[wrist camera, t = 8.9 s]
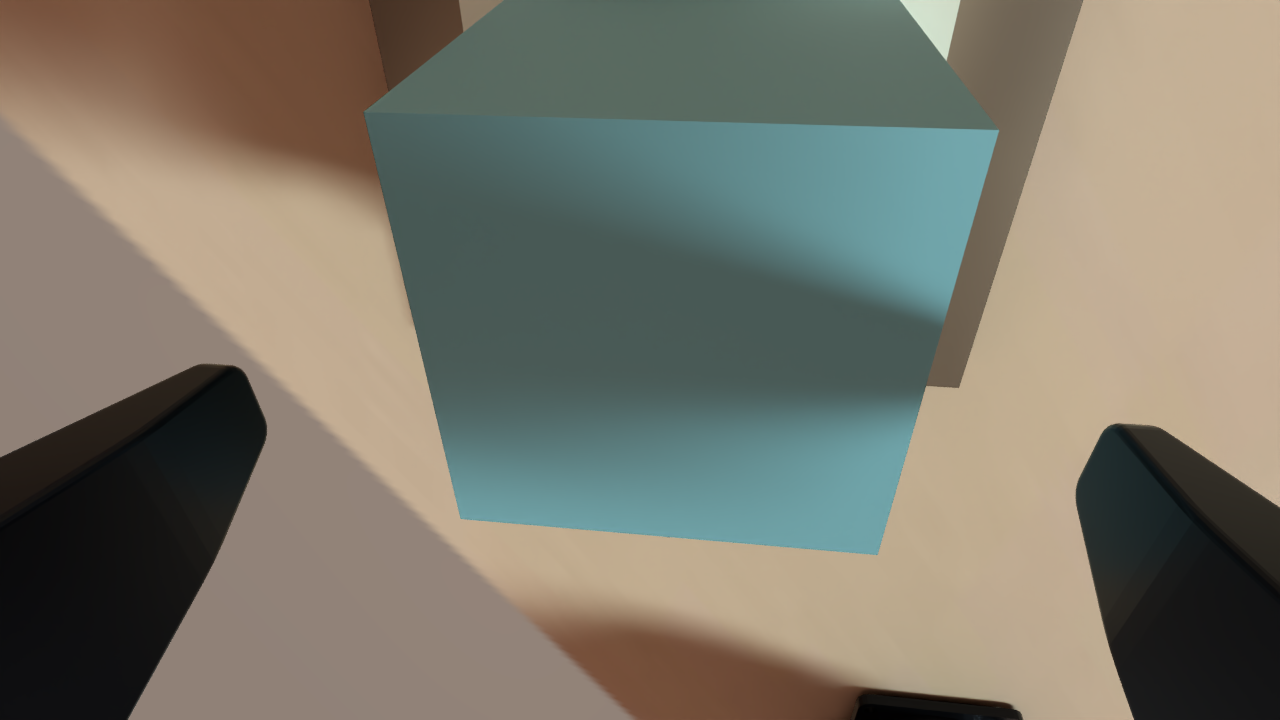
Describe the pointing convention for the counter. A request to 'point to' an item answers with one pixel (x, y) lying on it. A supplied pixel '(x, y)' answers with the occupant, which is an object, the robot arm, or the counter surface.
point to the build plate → (970, 43)
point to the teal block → (682, 259)
